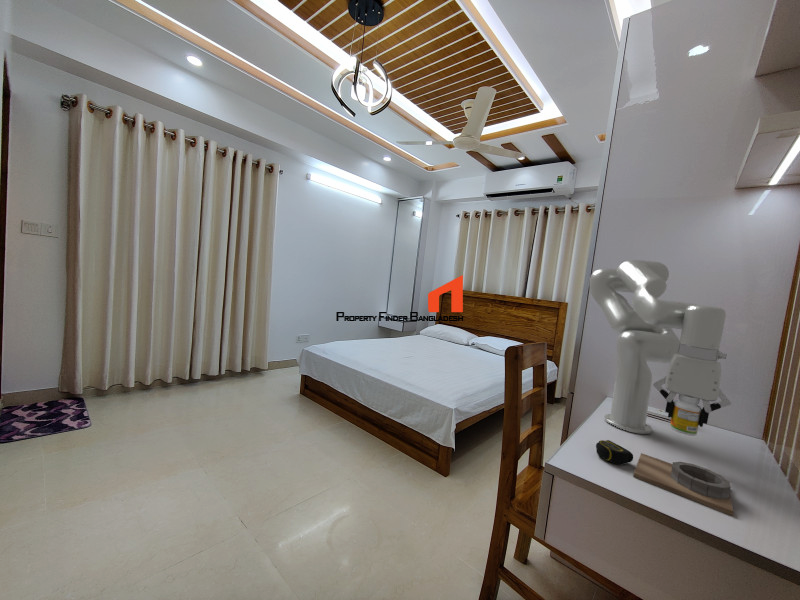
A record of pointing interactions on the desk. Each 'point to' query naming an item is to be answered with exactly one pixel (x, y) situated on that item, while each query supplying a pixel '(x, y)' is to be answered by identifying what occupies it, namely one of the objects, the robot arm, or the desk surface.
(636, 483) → the desk surface
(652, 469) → the holder
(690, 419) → the supplement bottle
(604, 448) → the tape measure
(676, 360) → the robot arm
